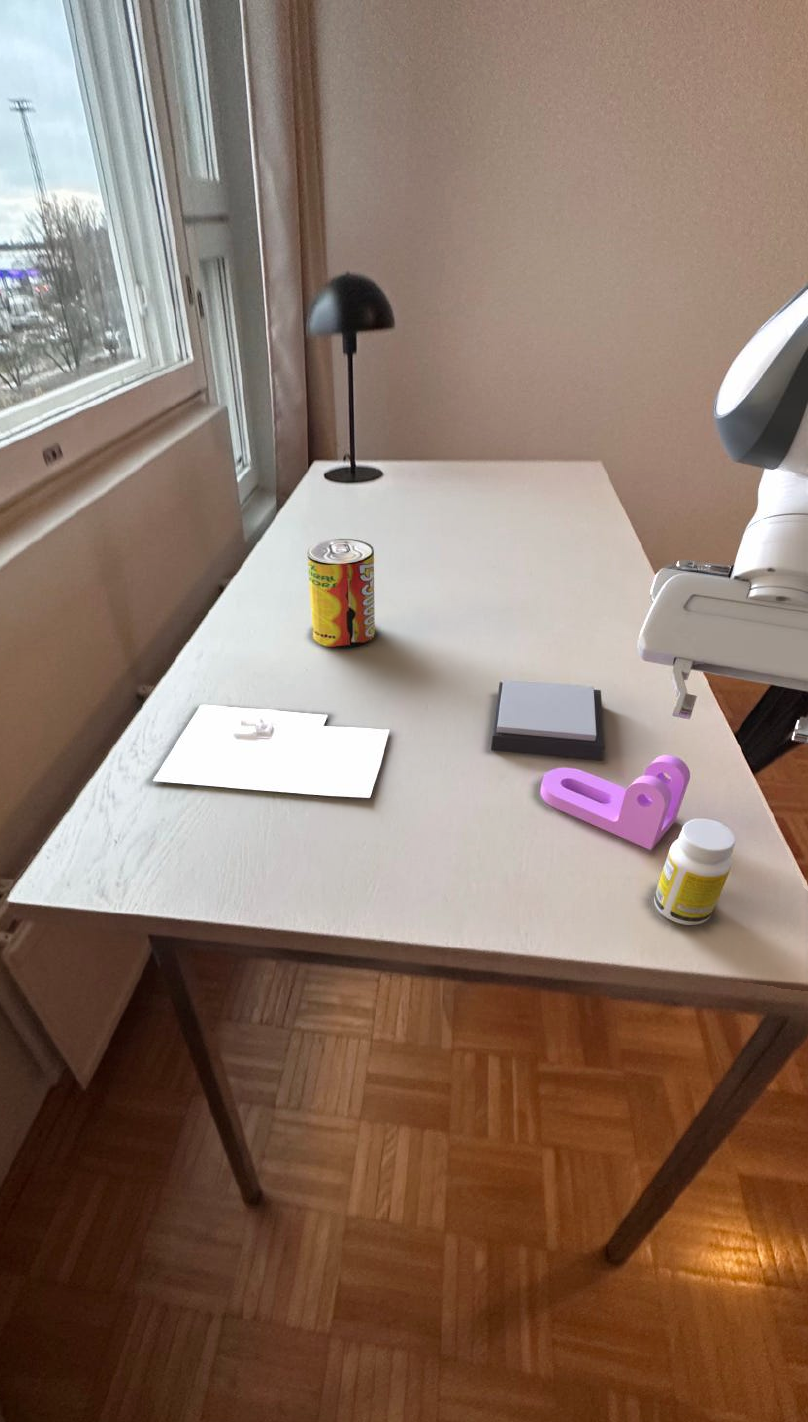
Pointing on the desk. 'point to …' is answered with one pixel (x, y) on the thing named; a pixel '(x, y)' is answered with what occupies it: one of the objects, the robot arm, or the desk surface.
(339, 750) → the paper
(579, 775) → the bracket
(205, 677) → the desk surface
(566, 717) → the scale
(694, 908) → the supplement bottle
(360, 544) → the beverage can
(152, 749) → the desk surface
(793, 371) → the robot arm
